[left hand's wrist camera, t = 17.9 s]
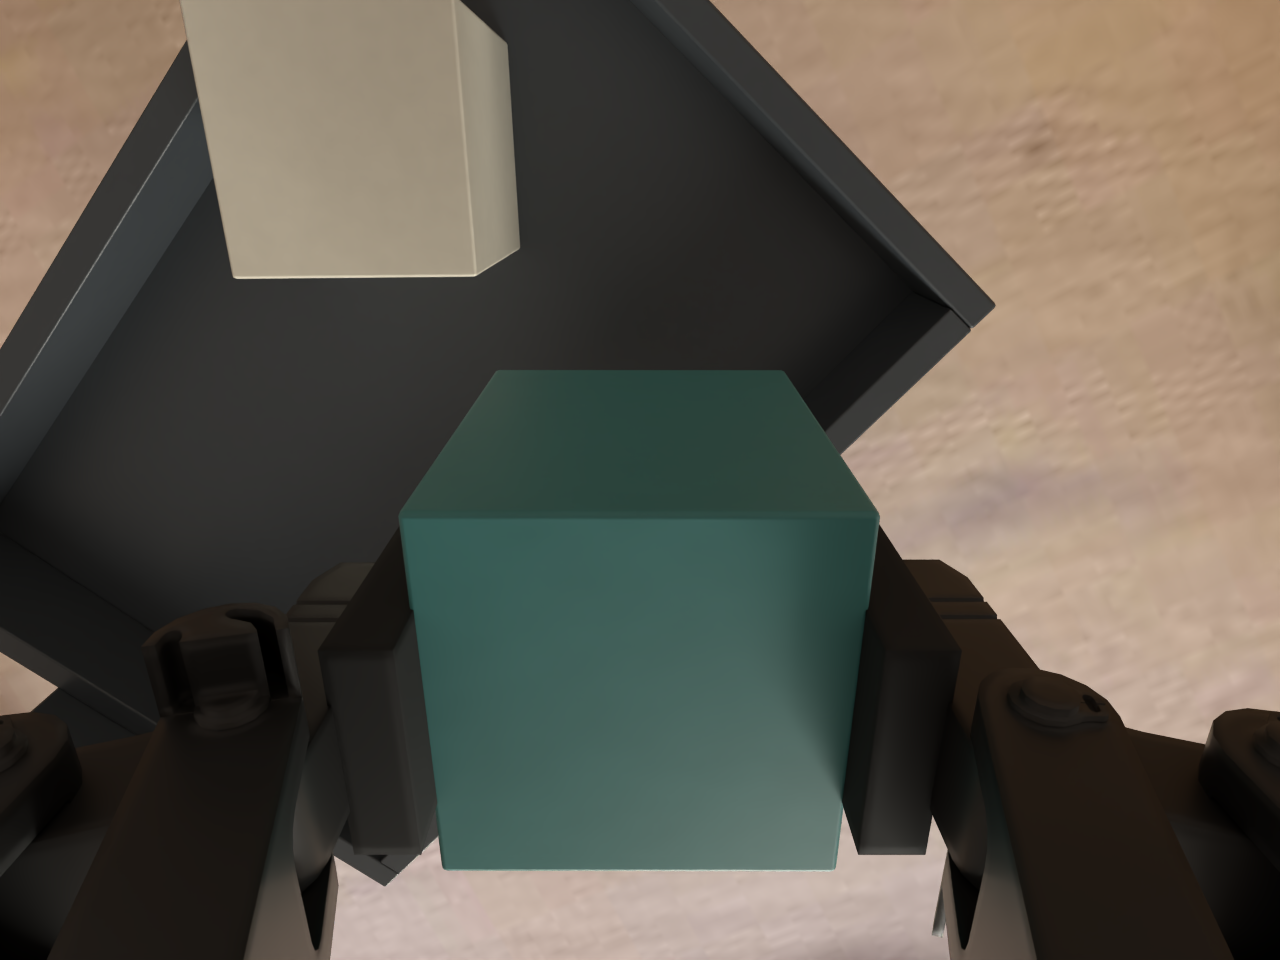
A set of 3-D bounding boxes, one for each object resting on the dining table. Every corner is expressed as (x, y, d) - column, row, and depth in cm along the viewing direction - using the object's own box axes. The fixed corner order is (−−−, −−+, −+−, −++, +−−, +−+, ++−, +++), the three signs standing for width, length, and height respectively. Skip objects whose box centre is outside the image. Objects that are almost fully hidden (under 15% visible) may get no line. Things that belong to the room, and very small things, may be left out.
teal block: (785, 369, 14) (882, 513, 8) (766, 618, 16) (837, 873, 10) (495, 368, 14) (395, 512, 8) (512, 617, 16) (440, 873, 10)
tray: (448, -234, 18) (197, -748, 8) (945, 286, 22) (1196, 382, 12) (-48, 542, 26) (-508, 790, 15) (396, 824, 30) (265, 1166, 20)
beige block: (507, 41, 20) (452, -9, 14) (520, 249, 22) (477, 276, 16) (308, 44, 20) (176, -5, 14) (338, 251, 22) (231, 278, 16)
